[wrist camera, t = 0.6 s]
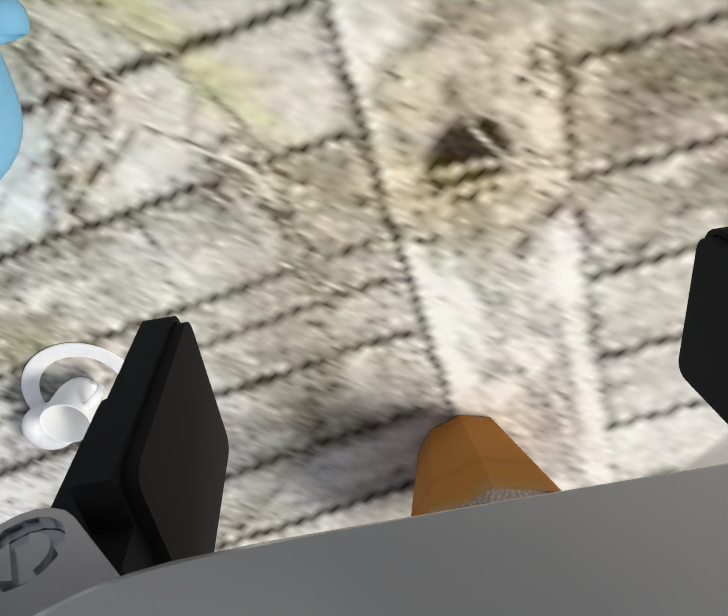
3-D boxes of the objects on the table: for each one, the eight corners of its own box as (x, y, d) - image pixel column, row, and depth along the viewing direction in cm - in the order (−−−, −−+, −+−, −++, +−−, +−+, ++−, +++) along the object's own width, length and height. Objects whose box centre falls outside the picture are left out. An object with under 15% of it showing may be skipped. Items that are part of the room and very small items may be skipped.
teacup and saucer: (50, 446, 44) (28, 487, 40) (-11, 360, 40) (-41, 397, 36) (163, 414, 44) (151, 453, 40) (112, 325, 40) (94, 359, 36)
